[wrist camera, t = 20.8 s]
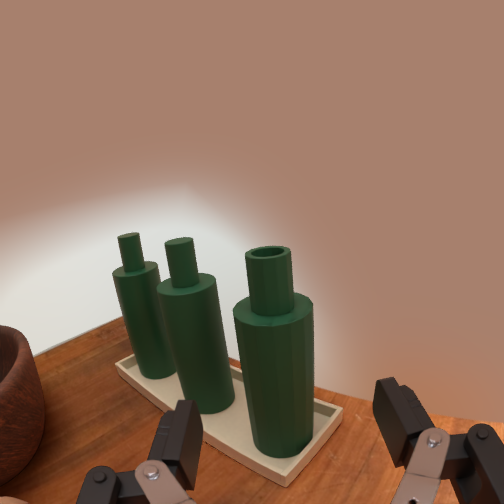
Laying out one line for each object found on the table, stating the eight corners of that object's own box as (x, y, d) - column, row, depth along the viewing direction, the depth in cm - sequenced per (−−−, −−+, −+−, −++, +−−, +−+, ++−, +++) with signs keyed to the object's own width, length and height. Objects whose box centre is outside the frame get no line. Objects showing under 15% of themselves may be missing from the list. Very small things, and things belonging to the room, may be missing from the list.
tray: (342, 421, 27) (343, 407, 26) (286, 488, 20) (285, 476, 20) (171, 347, 45) (169, 335, 44) (118, 375, 38) (114, 363, 37)
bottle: (290, 409, 29) (278, 237, 25) (324, 439, 25) (327, 249, 20) (242, 432, 27) (212, 253, 22) (273, 468, 22) (252, 271, 17)
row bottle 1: (173, 352, 42) (146, 227, 38) (185, 371, 38) (156, 233, 33) (136, 363, 40) (103, 236, 35) (145, 384, 35) (106, 244, 30)
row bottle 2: (222, 377, 36) (196, 230, 31) (244, 402, 31) (219, 238, 26) (179, 393, 33) (143, 242, 29) (196, 421, 29) (155, 253, 24)
